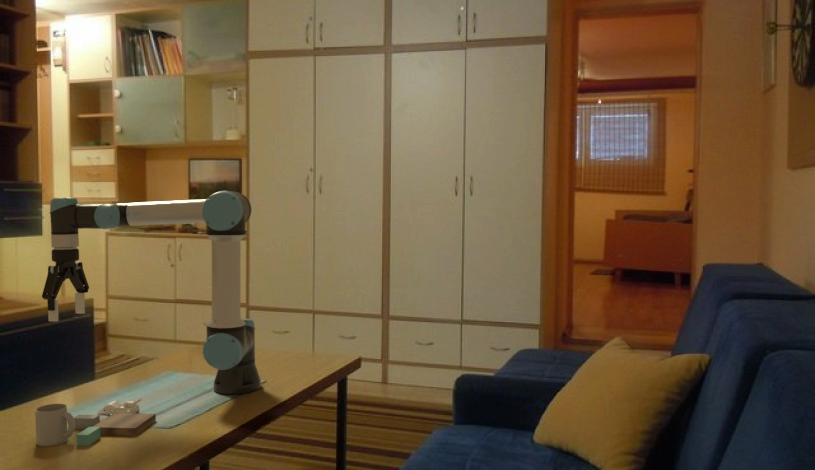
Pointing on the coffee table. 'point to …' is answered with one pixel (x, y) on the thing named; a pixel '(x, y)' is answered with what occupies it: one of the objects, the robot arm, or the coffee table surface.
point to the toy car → (120, 407)
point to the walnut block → (125, 423)
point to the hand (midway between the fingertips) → (67, 317)
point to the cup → (53, 424)
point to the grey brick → (86, 421)
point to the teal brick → (88, 436)
